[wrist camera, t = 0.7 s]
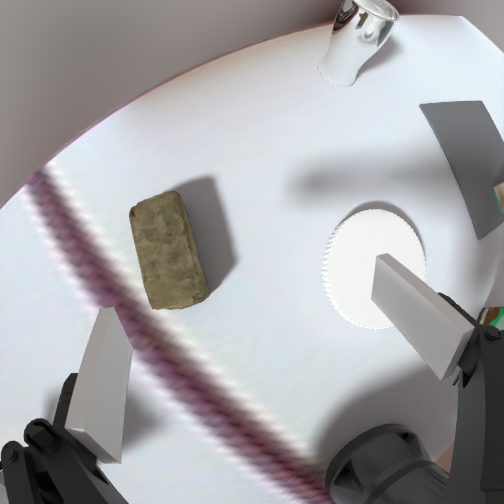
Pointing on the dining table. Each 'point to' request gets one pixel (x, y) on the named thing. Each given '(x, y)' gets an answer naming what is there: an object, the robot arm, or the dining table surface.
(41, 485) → the robot arm
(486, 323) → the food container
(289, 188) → the dining table surface
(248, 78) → the dining table surface
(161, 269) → the stone block
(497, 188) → the maple block
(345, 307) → the plastic lid
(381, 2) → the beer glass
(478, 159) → the mat
